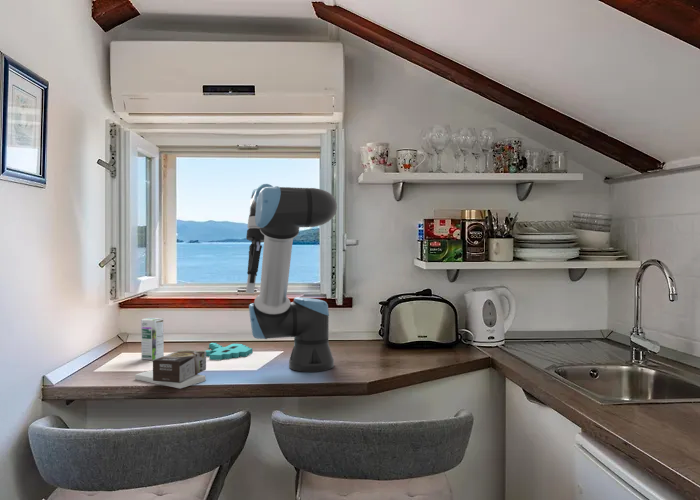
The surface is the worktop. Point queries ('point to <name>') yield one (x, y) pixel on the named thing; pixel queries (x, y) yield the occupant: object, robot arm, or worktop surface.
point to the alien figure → (227, 351)
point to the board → (192, 380)
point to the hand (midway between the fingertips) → (249, 292)
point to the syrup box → (152, 338)
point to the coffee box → (179, 366)
